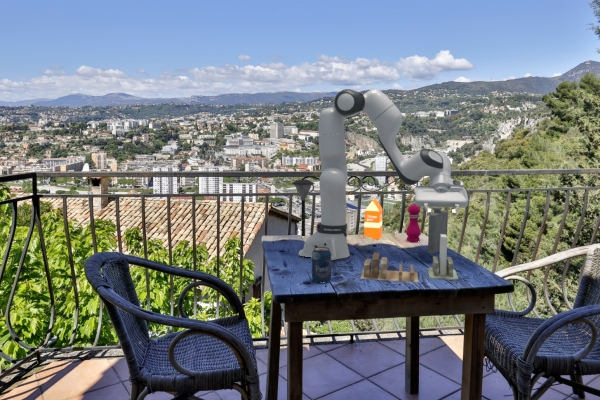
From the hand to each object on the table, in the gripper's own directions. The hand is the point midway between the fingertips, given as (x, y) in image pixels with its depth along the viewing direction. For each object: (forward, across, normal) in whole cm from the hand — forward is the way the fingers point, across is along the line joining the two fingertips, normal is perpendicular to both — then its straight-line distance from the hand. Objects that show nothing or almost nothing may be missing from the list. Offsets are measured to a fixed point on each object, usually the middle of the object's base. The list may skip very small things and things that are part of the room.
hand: (441, 214), depth 177 cm
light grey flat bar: (+23, 0, +5) cm, 23 cm away
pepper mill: (-18, -9, +49) cm, 53 cm away
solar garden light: (-15, -64, +46) cm, 80 cm away
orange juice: (-22, -29, +53) cm, 64 cm away
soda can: (+33, -43, -2) cm, 54 cm away
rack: (+28, -19, +3) cm, 34 cm away
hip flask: (-6, +1, +37) cm, 38 cm away
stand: (+24, 0, +7) cm, 25 cm away
